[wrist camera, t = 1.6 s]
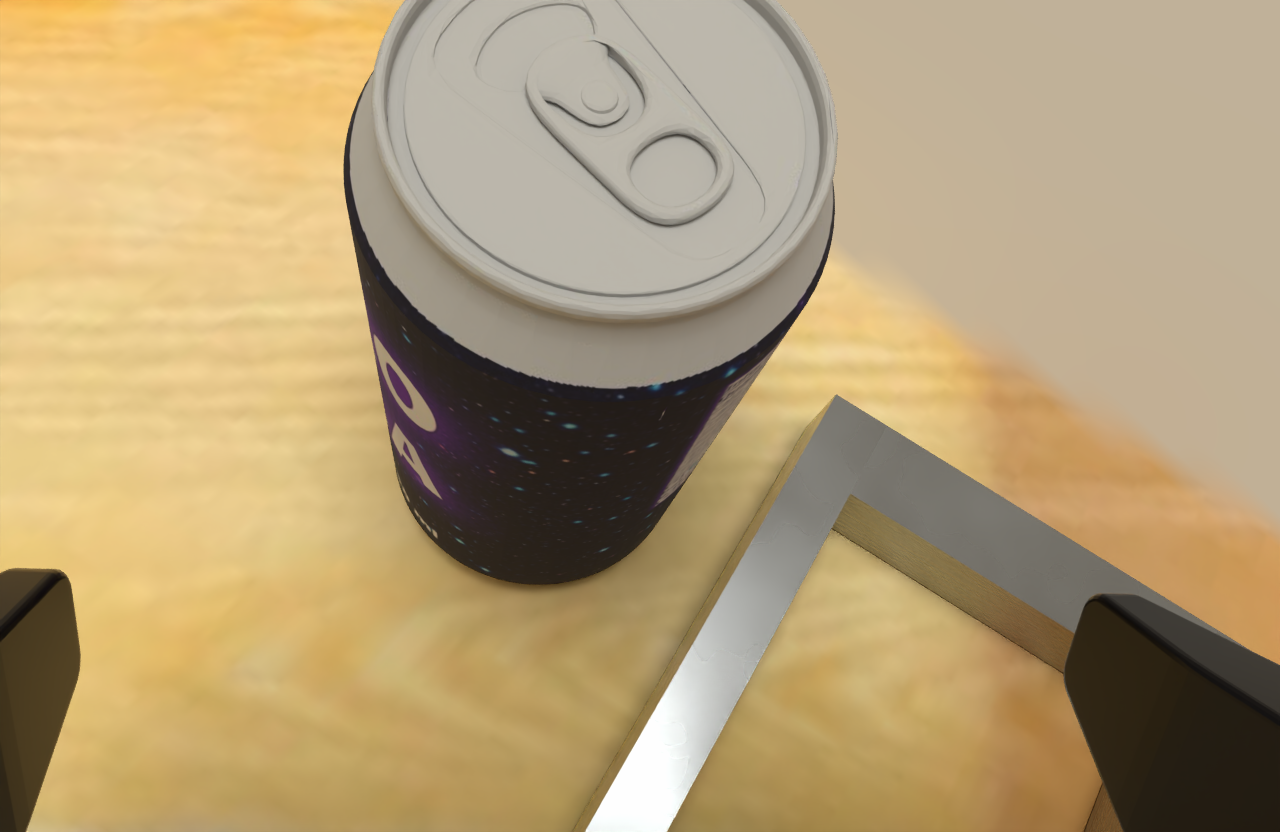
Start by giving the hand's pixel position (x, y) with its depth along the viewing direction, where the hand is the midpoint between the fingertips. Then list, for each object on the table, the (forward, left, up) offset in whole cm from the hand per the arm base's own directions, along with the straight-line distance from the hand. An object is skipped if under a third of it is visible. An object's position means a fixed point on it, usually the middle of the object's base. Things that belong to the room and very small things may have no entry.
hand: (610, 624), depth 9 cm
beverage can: (+5, -2, -12) cm, 13 cm away
